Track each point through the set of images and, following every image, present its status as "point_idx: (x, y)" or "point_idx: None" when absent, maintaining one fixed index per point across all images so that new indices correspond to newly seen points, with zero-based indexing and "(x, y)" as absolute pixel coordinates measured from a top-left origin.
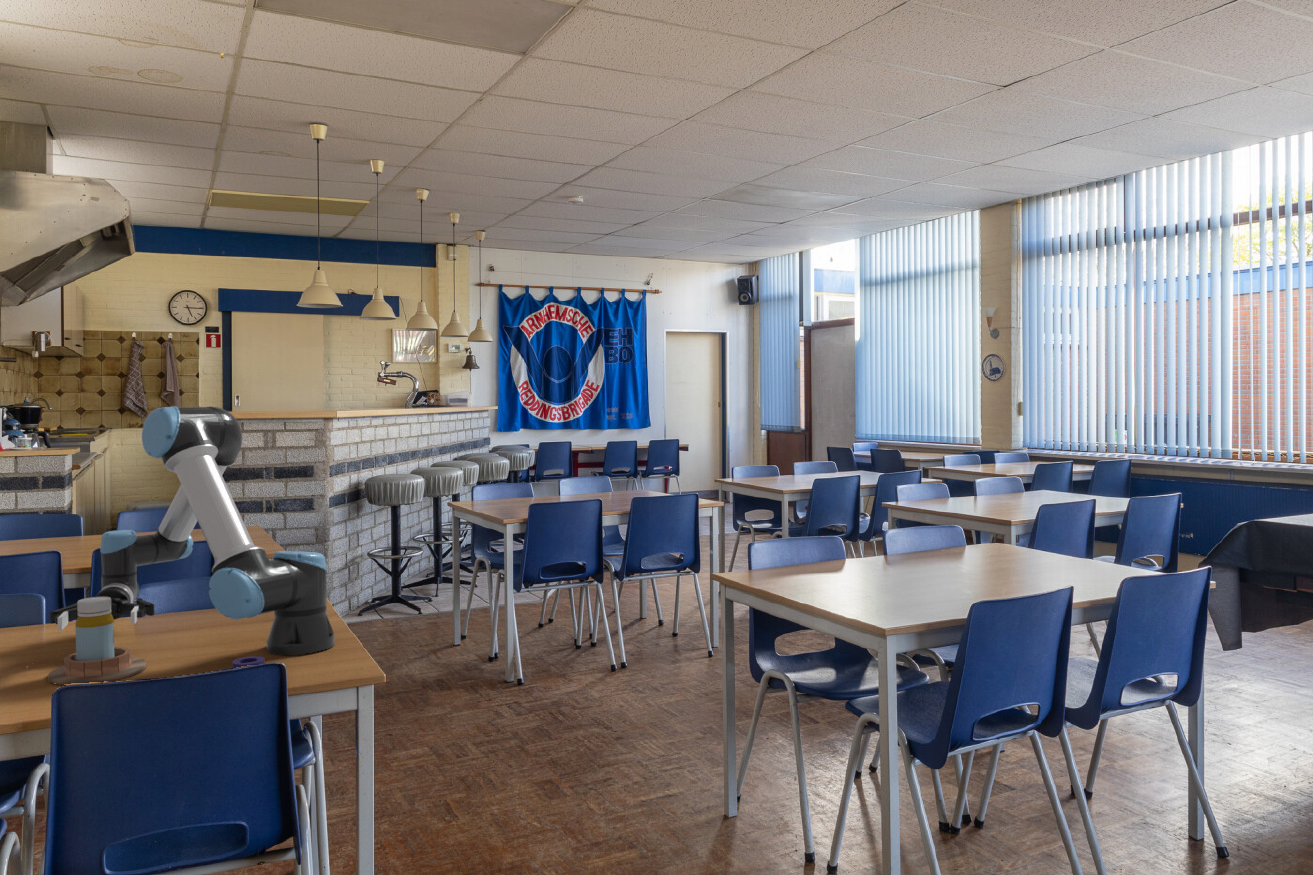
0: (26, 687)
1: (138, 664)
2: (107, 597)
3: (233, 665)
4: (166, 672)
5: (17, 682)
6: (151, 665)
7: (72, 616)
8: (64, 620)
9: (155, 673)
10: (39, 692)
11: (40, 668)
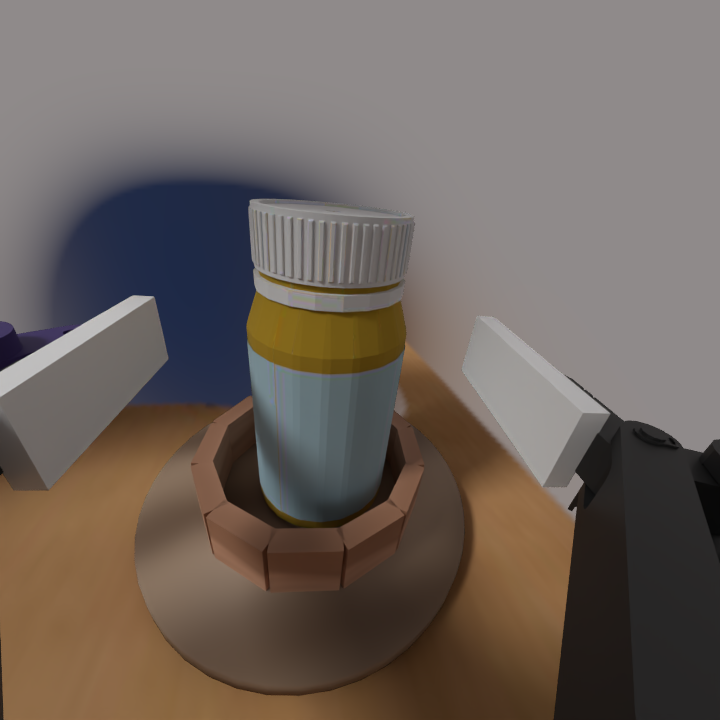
0: (461, 431)
1: (181, 478)
2: (266, 205)
3: (13, 335)
4: (127, 429)
5: (520, 478)
6: (124, 524)
7: (590, 523)
8: (497, 372)
9: (157, 431)
10: (409, 394)
11: None
